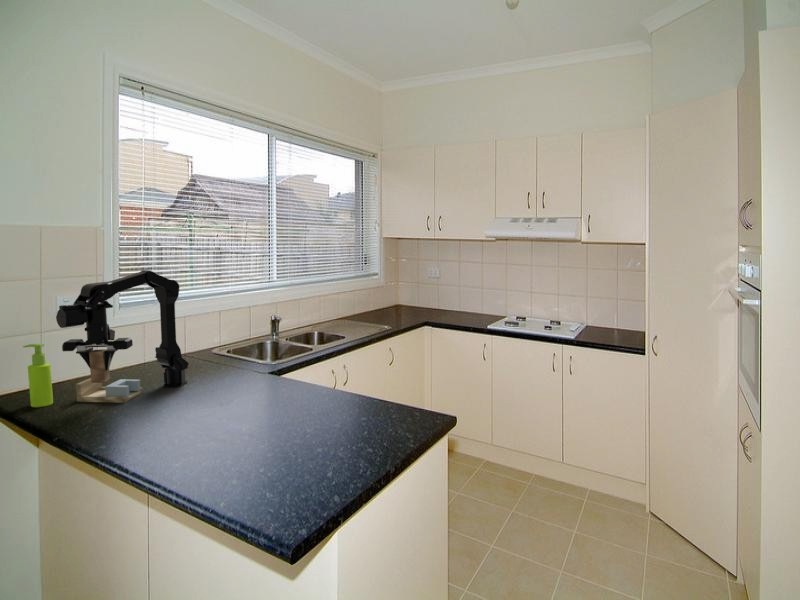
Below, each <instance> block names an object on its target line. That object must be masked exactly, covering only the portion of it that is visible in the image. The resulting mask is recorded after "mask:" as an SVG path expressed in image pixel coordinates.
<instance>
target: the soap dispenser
mask: <svg viewBox="0 0 800 600" xmlns="http://www.w3.org/2000/svg"><path fill="white" fill-rule="evenodd" d="M42 347H45V344H44V343H30V344H26V345H23V346H22V348H34V353H33V354H32V355H31V364H30V365H28V366H27V374H28V388H29V397H30V398H29V399H30V407H32V408H42V407H47V406H51V405H53V403H54V397H53V394H54V393H53V385H52V384H53V383H52V381H53V380H52V369H51V368H52V366H51V363H49V362H46V354H45V353H43V352H42Z"/></svg>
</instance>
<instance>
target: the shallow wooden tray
mask: <svg viewBox="0 0 800 600" xmlns="http://www.w3.org/2000/svg"><path fill="white" fill-rule="evenodd" d="M102 385H103V383H91V377H90V378H86V379H85V380H82V381H80V382H78V383H76V384H75V389H76V391H75V392H76V402H77V403H116V404H117V403H121V404H122V403H123V404H124V403H125V404H126V402H128V401H131V400H132V399H135V397H137V396H138V395H141V394H142V393H143V391H144V390H143V389H144V388H143V387H142V386H141V390H139V391H129V397H127V398H126V397H118V396H106V390H105V387H106V386H102Z"/></svg>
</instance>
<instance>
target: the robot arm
mask: <svg viewBox="0 0 800 600" xmlns="http://www.w3.org/2000/svg"><path fill="white" fill-rule="evenodd" d="M144 284H146V285H147V286H148V287H150V288H152V289H154V295H155V297H156V299H157V301H158V303H159V309H160V310H159V311H160V313H159V314H160V335H161V337H160V338H161V340H160V341H161V343H160V344H159V347H157V346H156V347H155V348H154V349H155V351H154V352H155V356H154V357H155V358H154V359H156V361H157V362H158V363H159V364H160V366H161V368H162V369H164V372H163V385H162V386H163V387H175V388H176V387H179V388H180V387H182V386H184V385H185V384H186V383H188V380H186V370H187V369H188V368H189V364H190V363H189V362H188V361H187V360H186V359H184V358H183V355H182V350H181V348H180V346H179V344H178V342H177V331H176V330H177V329H176V325H177V324H176V302H177V300H178V298H179V295H180V294H179V293H180V284H179V282H178V281H177V280H175V279H170V278H167V277H165V276H162V275H160V274H158V273H156V272H154V271H153V270H146V269H145V270H140V271H139V272H136V273H131V274H129V275H126V276H123V277H119V278H117V279H116V278H115V279H113V280H110V281H103V282H93V283H92V282H91V283H87V284H83V286H81V289H80V292H79V295H78V296H77V298H76V299H75V301H73V304H70V305H69V304H68V305H65V304H62V305H59V306H58V308H59V310H57V313H56V316H55V318H56V319H55V320H56V323H57V324H58V327H59V328H61V329H66V328H72V327H79V326H83V325H85V327H84V331H85V332H86V338H87V339H86V340H85V341H84V340H83V338H72V339H71V338H70V339H68V340H66V341H64V342H63V343H62V344H61V345H62V346H61V348H62V352H73V351H75V350H76V351H75V354H79V356H80V357H81V358H82V359H83V360H84V362H85V363H86V365H87V367H88V368H89V369H90V359H89V352H91V351H93V350H94V348H107V350H105V351H104V357H105V367H106V370H109V371H110V366H111V364H112V360H113V357H114V355H115V354H116V352H117V351H119V350H128V349H129V348H131V347H133V345H134V344H133V340H132V338H131V337H118V338H116V339H115V337H116V330H114V329H111V328H110V325H109V324H108V318H107V309H111V308H112V309H113V308H114V305H113V304H111V303H110V302H108V300H110V299H111V298H113V297H114V296H115V295H116V294H118V293H120V292H123V291H124V292H125V291H126V290H129V289H132V288H135V287H139V286H141V285H144Z"/></svg>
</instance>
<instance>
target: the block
mask: <svg viewBox="0 0 800 600" xmlns="http://www.w3.org/2000/svg"><path fill="white" fill-rule="evenodd" d="M104 387H105V390H106V396H118V397H126V398H127V397H129V391H139V390H141V387H142V386H141V380H140V379H128V378H126V379H125V378H123V379H121V378H120V379H118V380H116V381H114V382H112V383H110V384H107V385H106V386H104Z"/></svg>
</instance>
